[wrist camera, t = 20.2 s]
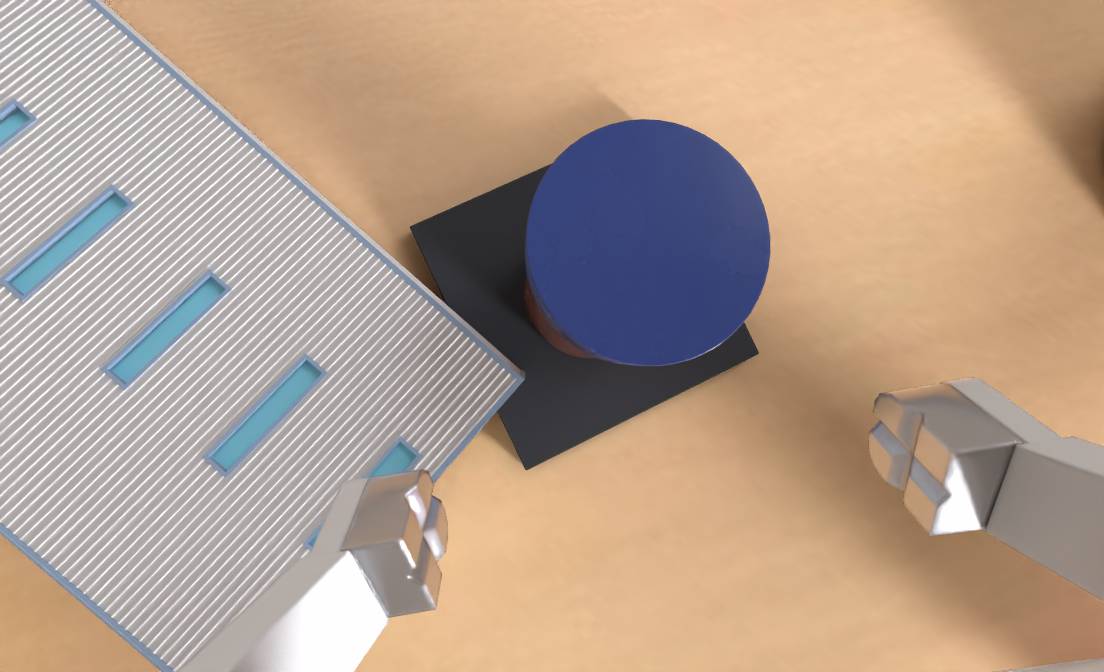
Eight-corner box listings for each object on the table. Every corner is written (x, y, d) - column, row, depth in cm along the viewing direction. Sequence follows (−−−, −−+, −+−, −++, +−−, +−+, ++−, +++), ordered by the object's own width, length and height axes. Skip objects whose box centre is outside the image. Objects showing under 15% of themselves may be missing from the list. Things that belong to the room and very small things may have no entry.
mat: (643, 127, 26) (647, 120, 25) (752, 353, 26) (759, 353, 25) (412, 230, 25) (409, 226, 24) (525, 467, 25) (526, 471, 24)
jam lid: (685, 111, 16) (708, 79, 14) (779, 306, 16) (813, 299, 14) (486, 199, 15) (483, 178, 14) (583, 403, 15) (593, 409, 14)
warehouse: (525, 372, 24) (524, 382, 17) (320, 604, 24) (222, 724, 16) (48, -49, 24) (-177, -236, 16) (-177, 174, 23) (-522, 88, 15)
